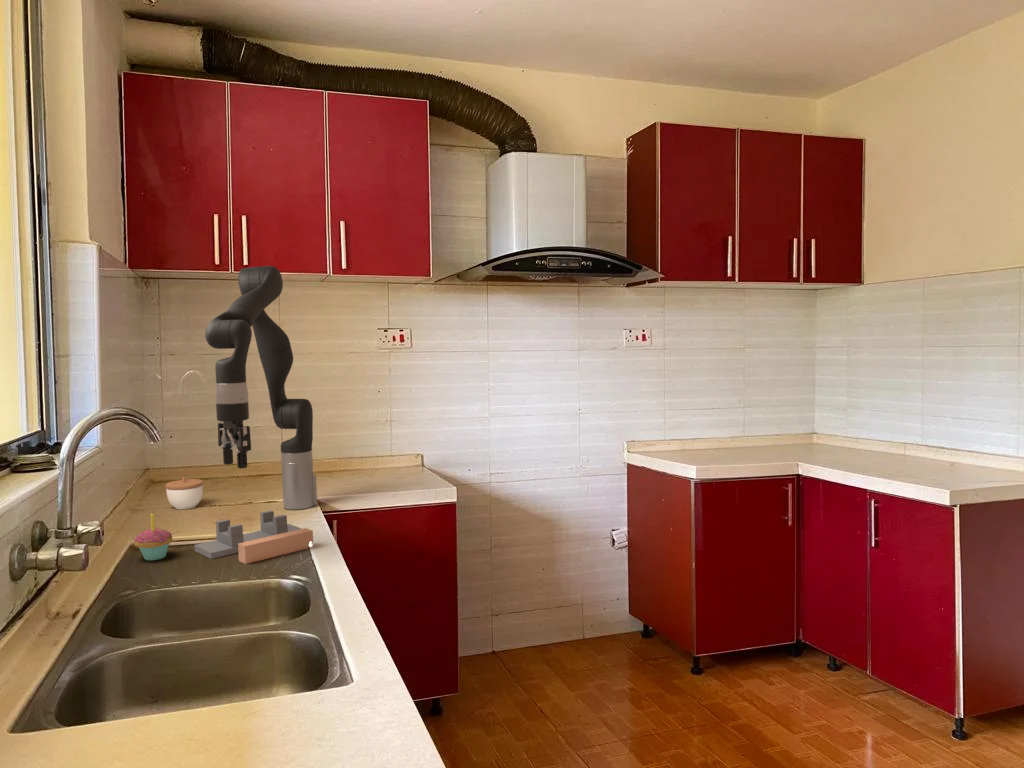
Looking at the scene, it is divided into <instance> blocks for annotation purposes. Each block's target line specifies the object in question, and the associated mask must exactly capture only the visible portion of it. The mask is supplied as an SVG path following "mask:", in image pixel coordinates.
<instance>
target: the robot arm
mask: <svg viewBox="0 0 1024 768" xmlns="http://www.w3.org/2000/svg"><path fill="white" fill-rule="evenodd" d="M237 283H238V288H239V291H240V296H239V297H237V298H236V299H234V301H233V302H232V303H231V304H230V305H229V307H228V308H227V309H226V311H224V312H222V313H220V314H219V315H217V316H215V317H214V318H213V319H212V320H211V321H209V322H208V324H207V325H206V328H205V336H204V337H205V340H206V343H207V344H208V345H209V346H210V347H211V348H213V349H215V350H216V349H219V350H222V349H224V350H226V349H234V351H233V353H232V355H231V356H229V357H224V358H221V359H218V360H217V361H216V362H215V367H214V369H215V371H214V372H215V409H216V411H215V412H216V420H217V422H218V423H217V439H218V440H217V444H218V447H220V448H221V450H222V459H223V465H225V466H226V465H232V464H233V463H234V451H233V447H234V449H235V452H236V461H237V462H236V465H237V469H246V468H247V467H248V453H249V451H251V450H252V441H251V428H250V427H251V426H249V425H244V421H247V420H248V419H249V418H250V411H249V409H250V408H249V407H250V406H249V391H248V387H247V386H248V385H247V371H246V370H247V369H246V368H247V367H246V366H247V359H248V354H249V349H250V346H251V341H252V337H253V336H252V335H253V334H254V338H255V342H256V343H255V344H256V348H257V352H258V355H259V359H260V362H261V366H262V368H263V373H264V376H265V377H264V378H265V380H266V385H267V389H268V394H269V402H270V408H271V413H272V417H273V422H274V423H275V425H276V427H277V428H279V429H281V430H296V431H295V433H296V434H295V436H293V437H292V438H289V439H286V440H284V441H282V442H281V443H280V458H281V459H280V462H281V481H282V482H281V483H282V501H283V502H282V503H283V509H286V510H303V509H309V508H312V507H314V506H317V505H318V492H317V488H318V487H317V475H316V473H314V466H313V465H314V462H313V441H314V440H313V439H314V438H313V437H314V435H313V429H314V428H313V425H314V424H313V423H314V419H313V417H314V414H313V413H314V412H313V406H312V405H313V404H312V403H311V401H310V400H309V399H307V398H287V396H286V395H287V394H286V391H285V384H286V381H287V378H288V376H289V374H290V371H291V369H292V366H293V363H294V353H293V349H292V346H291V342H290V338H289V336H288V335H287V334H286V332H285V331H284V330H283V329H282V328H281V326H280V325H278V324H277V323H276V322H275V321H274V320H273V319H272V318H271V317H270V316H269V315H268V313H267V312H266V310H265V309H266V308H267V307H268V306H269V305H270V304H271V303H273V302H274V301H275V300H277V299H278V298H279V297H280V295H281V294H282V291H283V285H284V282H283V277H282V273H281V272H280V270H279V269H278V268H277V267H276V266H273V265H261V266H251V267H244V268H241V269H240V270H239V272H238V275H237ZM252 330H253V332H252Z"/></svg>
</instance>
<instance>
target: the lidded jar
mask: <svg viewBox="0 0 1024 768" xmlns="http://www.w3.org/2000/svg"><path fill="white" fill-rule="evenodd" d="M203 486H204V480H202V479H195V478H193V479H192V478H190V479H189V478H187V477H186V476H184V477H183V476H182V477H181V479H179V480H173V481H170V482H167V483H166V484H165V490H166V498H167V500H168V502H169V503H170V505H171V506H172V507H174V509H175V510H179V511H181V510H188V509H189V510H190V509H195V508H197V505H198V504H199V503H200V502H201V500H202V499H203V491H204V488H203Z"/></svg>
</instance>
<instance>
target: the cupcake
mask: <svg viewBox="0 0 1024 768" xmlns="http://www.w3.org/2000/svg"><path fill="white" fill-rule="evenodd" d="M150 521H151V522H150V525H151V528H148V529H145V530H143V531H141V532H139V534H136V537H135V538H133V540H134V541H133V542H134V544H133V545H134V547H137V548H139V550H140V551H141V554H142V556H143V559H144V560H145V561H157V560H163V559H164V558H166V556H167V552H168V549H169V546H170V543H172V542H173V536H172V535H173V534H172V533H171V532H170V531H168V530H167V529H163V528H158V527H156V528H155V514H154V512H153V511H151V513H150Z"/></svg>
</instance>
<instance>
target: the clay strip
mask: <svg viewBox="0 0 1024 768" xmlns="http://www.w3.org/2000/svg"><path fill="white" fill-rule="evenodd" d="M310 541H313V542H314V532H313V529H310V528H307V527H304V528H303V527H302V529H299V530H295V531H290V532H286V533H282V534H277V535H273V536H269V537H264V538H260V539H256V540H251V541H247V542H243V543H238V553H237V554H238V561H239V562H240V563H243V564H245V565H246V564H251V563H255V562H259V561H264V560H268V559H270V558H275V557H278V556H284V555H287V554H291V553H295V552H298V551H302V550H306V549H309V548H308V544H309V542H310Z"/></svg>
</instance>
